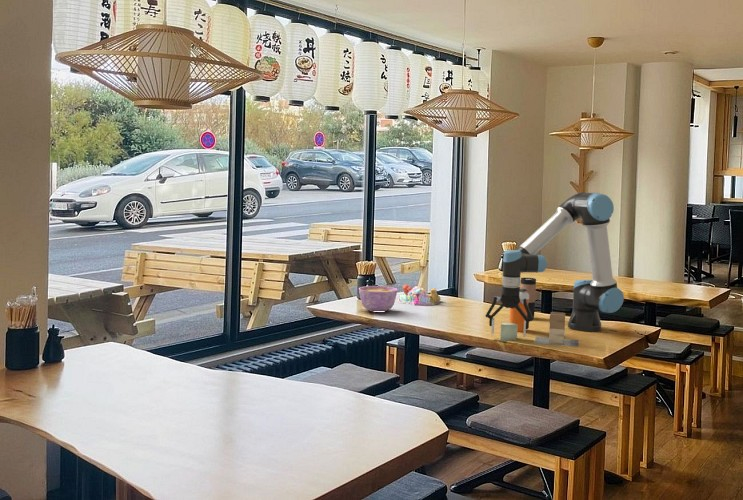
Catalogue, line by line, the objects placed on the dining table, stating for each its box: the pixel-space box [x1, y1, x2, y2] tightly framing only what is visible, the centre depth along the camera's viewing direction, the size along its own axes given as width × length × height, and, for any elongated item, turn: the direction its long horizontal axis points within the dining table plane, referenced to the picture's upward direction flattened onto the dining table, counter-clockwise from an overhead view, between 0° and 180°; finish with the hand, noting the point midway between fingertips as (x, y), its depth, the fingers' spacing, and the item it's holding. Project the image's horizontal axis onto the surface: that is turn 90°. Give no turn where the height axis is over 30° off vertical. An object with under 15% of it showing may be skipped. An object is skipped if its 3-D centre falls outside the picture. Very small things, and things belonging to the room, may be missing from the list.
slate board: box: [533, 336, 579, 348], centre depth 326 cm, size 13×18×1 cm
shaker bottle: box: [509, 289, 529, 333], centre depth 347 cm, size 9×9×20 cm
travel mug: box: [519, 277, 537, 320], centre depth 380 cm, size 8×8×20 cm
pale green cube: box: [499, 322, 518, 343], centre depth 330 cm, size 7×7×7 cm
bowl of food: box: [358, 285, 398, 311], centre depth 391 cm, size 20×20×12 cm
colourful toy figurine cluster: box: [397, 284, 442, 306], centre depth 422 cm, size 25×24×9 cm
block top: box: [549, 311, 566, 330], centre depth 325 cm, size 6×6×6 cm
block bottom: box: [548, 327, 566, 344], centre depth 325 cm, size 6×6×6 cm
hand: (508, 335), depth 330 cm, fingers open, 13 cm apart
